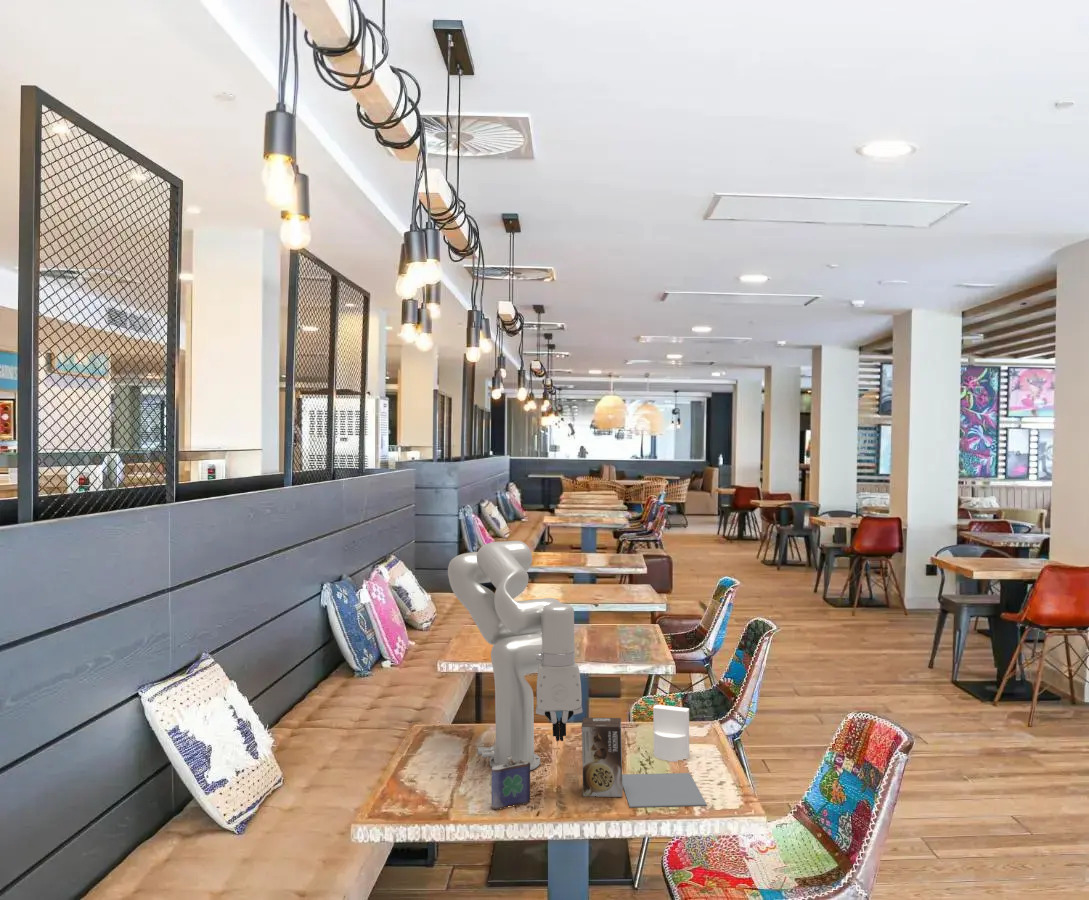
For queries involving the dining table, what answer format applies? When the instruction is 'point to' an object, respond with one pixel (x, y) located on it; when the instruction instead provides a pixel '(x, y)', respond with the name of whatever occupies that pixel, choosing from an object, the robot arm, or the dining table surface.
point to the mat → (661, 790)
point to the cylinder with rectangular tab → (671, 732)
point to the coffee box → (602, 757)
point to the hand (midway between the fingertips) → (559, 739)
